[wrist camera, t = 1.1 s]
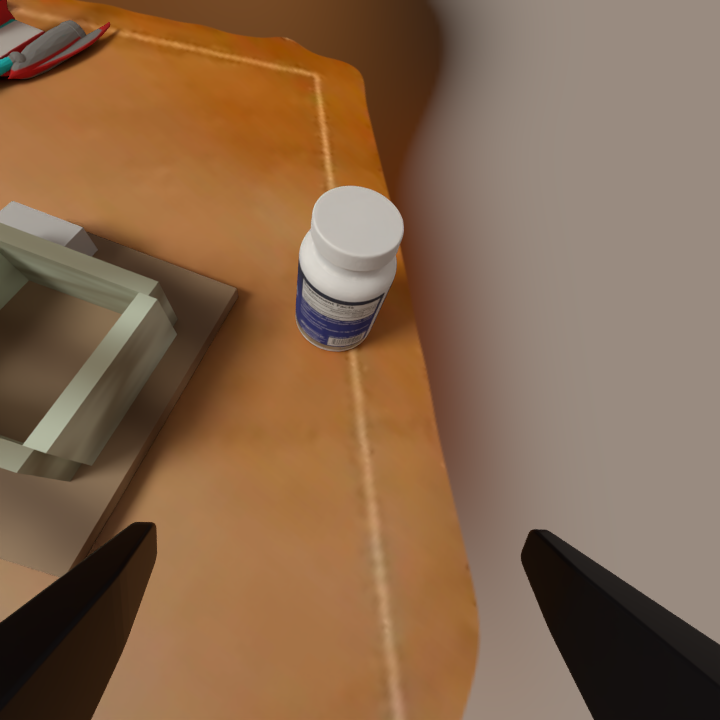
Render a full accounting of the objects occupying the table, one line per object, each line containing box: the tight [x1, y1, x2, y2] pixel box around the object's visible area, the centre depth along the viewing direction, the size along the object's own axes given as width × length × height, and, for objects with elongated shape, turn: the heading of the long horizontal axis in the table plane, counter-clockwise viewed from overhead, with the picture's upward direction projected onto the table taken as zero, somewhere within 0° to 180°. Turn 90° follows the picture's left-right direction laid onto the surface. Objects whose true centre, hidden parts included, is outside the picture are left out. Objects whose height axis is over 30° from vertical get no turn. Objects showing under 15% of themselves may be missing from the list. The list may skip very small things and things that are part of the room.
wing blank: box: [0, 201, 98, 257], centre depth 21 cm, size 3×4×2 cm
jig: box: [0, 223, 238, 577], centre depth 18 cm, size 18×14×5 cm
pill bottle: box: [296, 186, 404, 351], centre depth 22 cm, size 6×6×10 cm
